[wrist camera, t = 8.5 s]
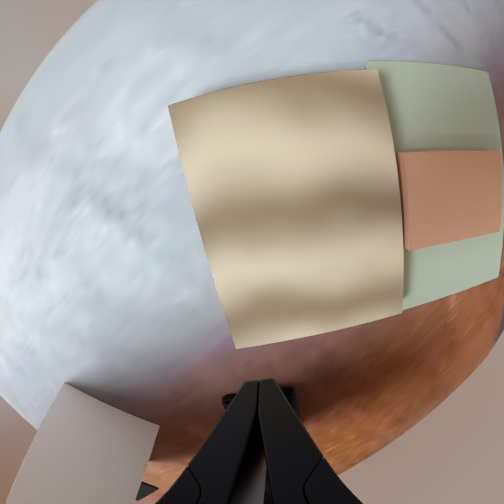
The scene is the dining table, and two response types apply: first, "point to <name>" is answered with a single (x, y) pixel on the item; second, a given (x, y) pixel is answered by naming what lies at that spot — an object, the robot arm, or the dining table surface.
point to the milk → (84, 454)
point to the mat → (443, 137)
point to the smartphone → (145, 490)
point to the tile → (448, 195)
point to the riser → (296, 202)
